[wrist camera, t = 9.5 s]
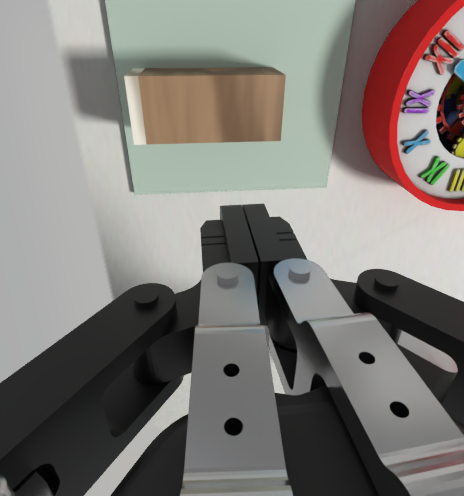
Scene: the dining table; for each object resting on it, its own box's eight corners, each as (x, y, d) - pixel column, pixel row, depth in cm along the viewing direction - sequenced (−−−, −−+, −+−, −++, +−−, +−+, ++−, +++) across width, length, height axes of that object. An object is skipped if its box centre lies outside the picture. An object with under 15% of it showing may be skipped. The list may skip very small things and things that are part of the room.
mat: (356, -25, 29) (359, -25, 29) (324, 185, 39) (326, 187, 38) (101, -28, 27) (100, -29, 27) (135, 192, 37) (134, 194, 36)
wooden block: (285, 74, 27) (124, 76, 26) (280, 140, 30) (133, 144, 29) (272, 67, 32) (132, 68, 30) (269, 125, 34) (140, 128, 33)
